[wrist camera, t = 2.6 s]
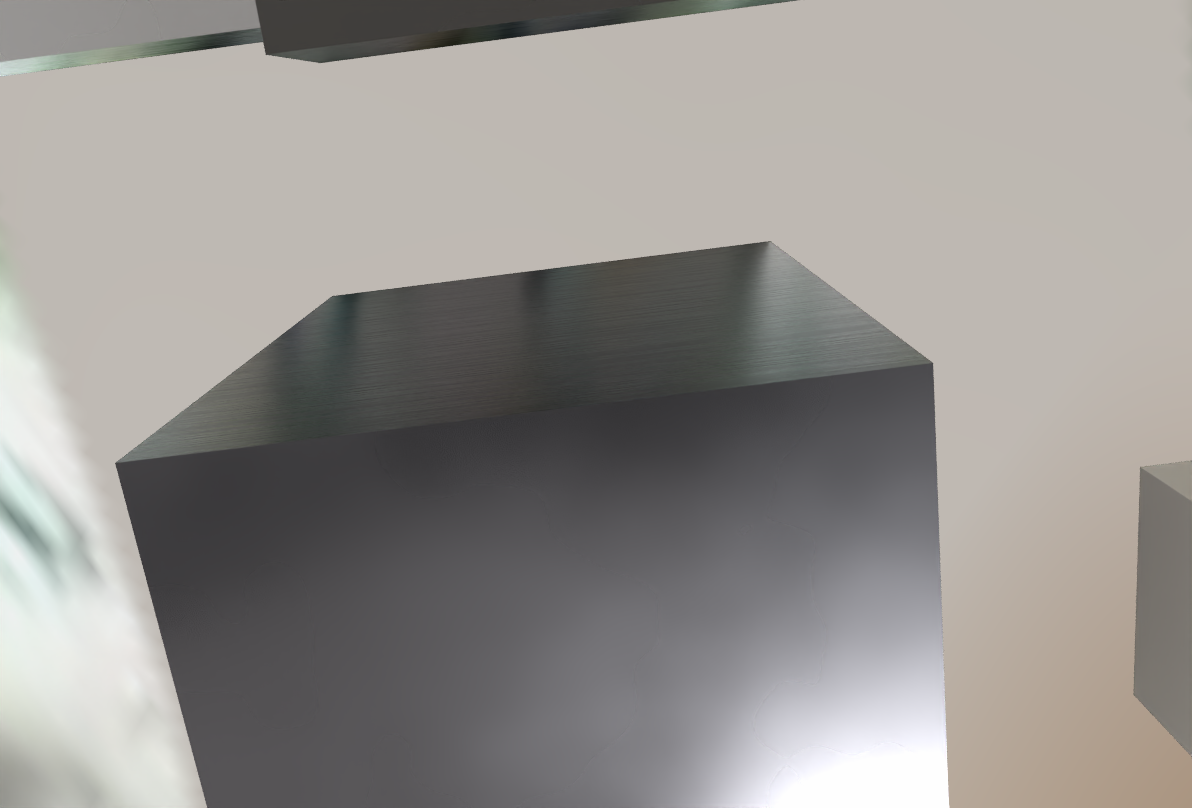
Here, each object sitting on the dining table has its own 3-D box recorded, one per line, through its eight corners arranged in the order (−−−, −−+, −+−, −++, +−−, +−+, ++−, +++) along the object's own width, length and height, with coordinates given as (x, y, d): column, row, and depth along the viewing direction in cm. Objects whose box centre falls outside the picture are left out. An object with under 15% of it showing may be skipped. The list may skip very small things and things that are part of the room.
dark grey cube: (770, 241, 16) (933, 362, 9) (801, 636, 18) (956, 1021, 11) (331, 296, 17) (116, 463, 9) (407, 683, 19) (283, 1093, 11)
